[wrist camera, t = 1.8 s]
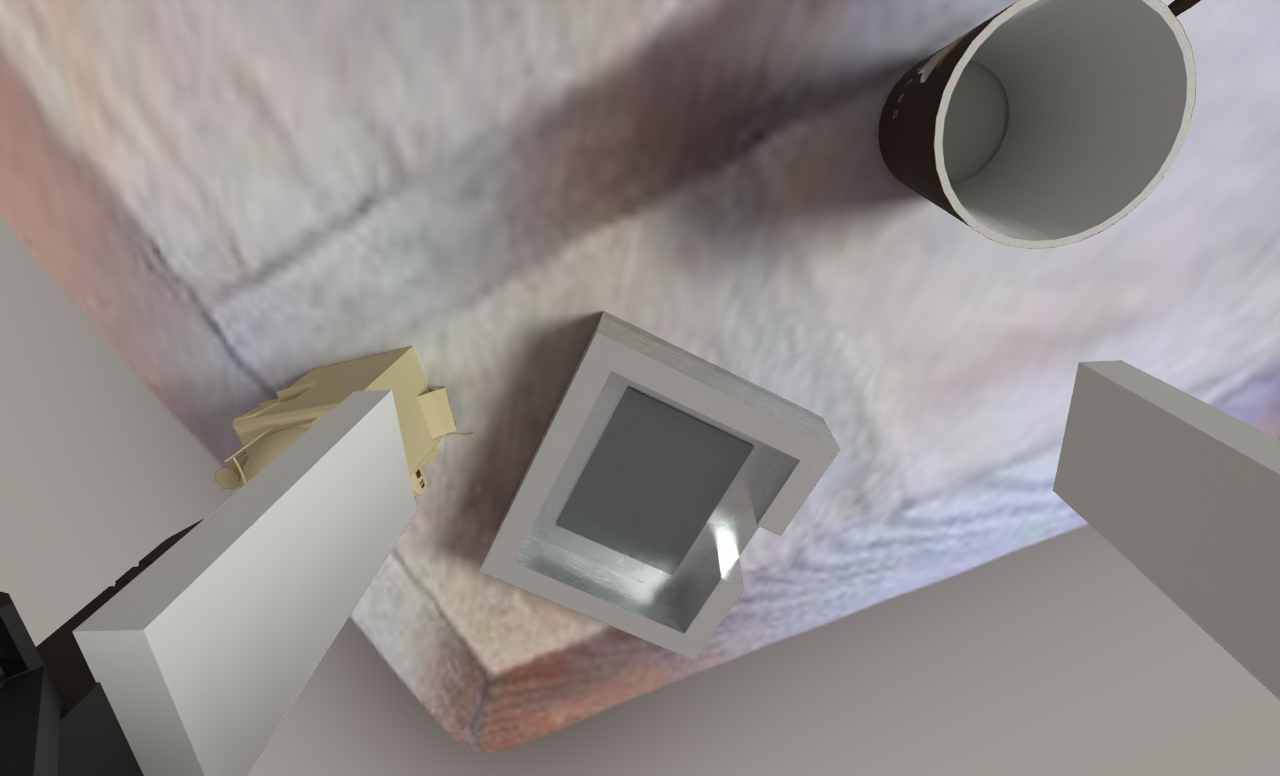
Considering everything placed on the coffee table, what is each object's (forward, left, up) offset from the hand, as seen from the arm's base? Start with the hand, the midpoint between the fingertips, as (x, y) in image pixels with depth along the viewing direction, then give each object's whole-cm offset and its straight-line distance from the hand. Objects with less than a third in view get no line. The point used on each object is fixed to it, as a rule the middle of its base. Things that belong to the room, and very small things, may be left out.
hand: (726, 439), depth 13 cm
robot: (-11, -17, -23) cm, 31 cm away
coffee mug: (+10, +12, -23) cm, 28 cm away
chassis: (+5, -13, -23) cm, 27 cm away
